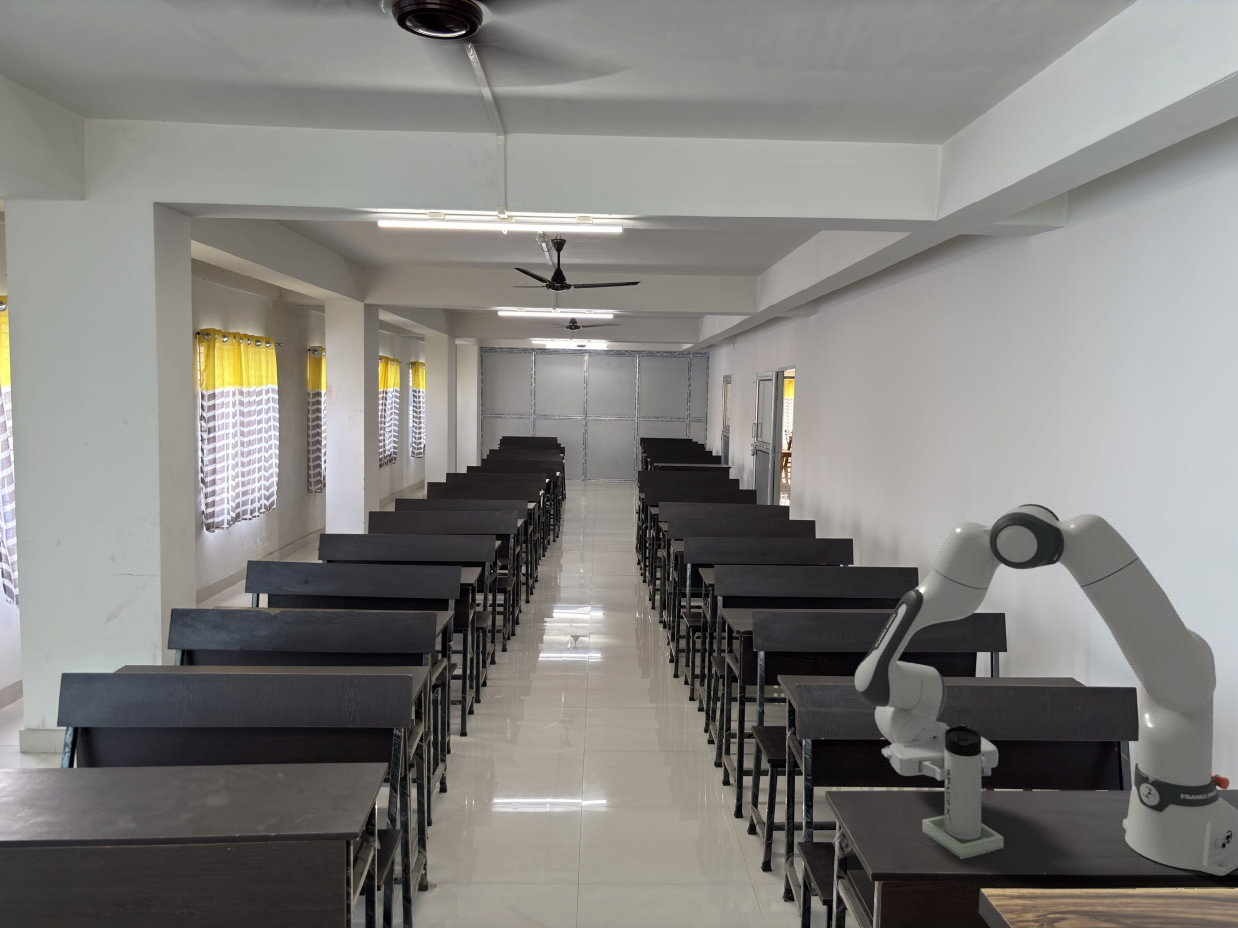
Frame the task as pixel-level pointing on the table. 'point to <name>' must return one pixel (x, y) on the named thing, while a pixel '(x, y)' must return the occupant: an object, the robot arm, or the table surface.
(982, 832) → the tray
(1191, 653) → the robot arm
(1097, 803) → the table surface
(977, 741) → the travel mug
